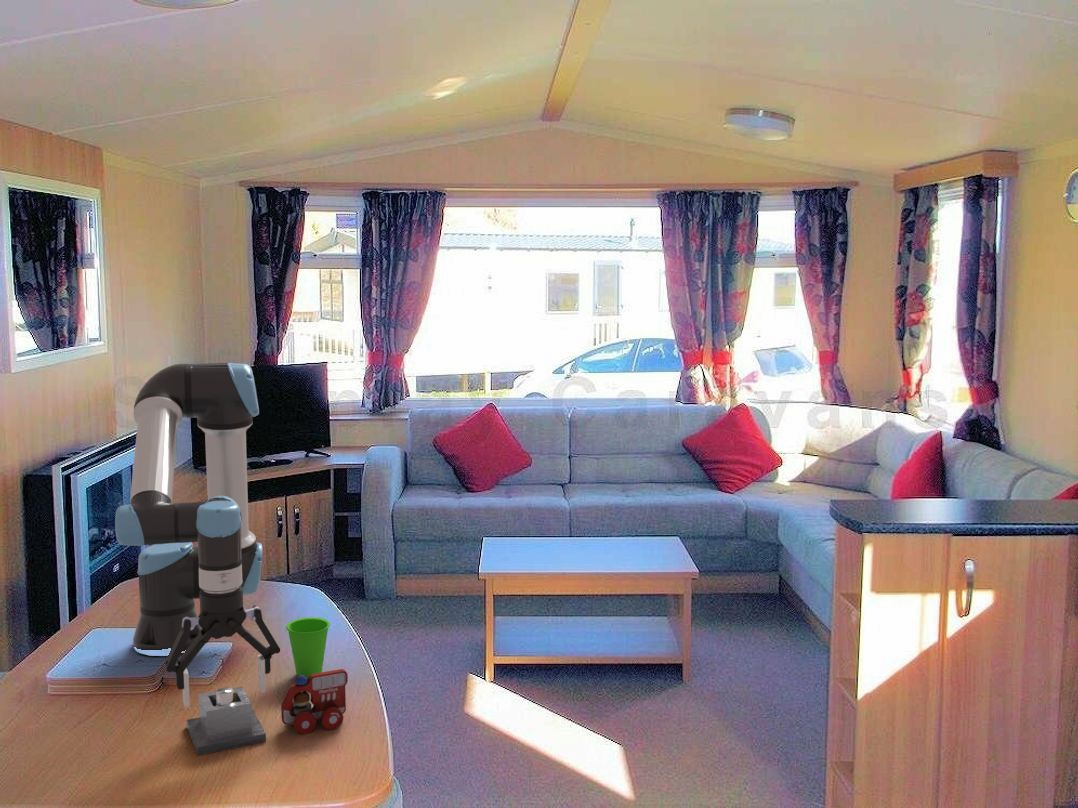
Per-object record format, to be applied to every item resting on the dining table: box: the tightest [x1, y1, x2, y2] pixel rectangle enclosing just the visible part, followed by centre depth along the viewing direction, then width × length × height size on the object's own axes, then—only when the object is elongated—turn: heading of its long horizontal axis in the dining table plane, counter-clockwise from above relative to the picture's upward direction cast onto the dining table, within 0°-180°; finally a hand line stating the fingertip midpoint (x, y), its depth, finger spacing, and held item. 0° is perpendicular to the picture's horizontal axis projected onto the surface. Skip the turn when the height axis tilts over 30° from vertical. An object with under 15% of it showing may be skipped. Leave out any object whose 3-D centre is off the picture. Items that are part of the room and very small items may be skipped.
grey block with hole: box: [198, 686, 253, 740], centre depth 188 cm, size 8×8×6 cm
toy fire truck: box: [280, 668, 349, 735], centre depth 193 cm, size 7×12×10 cm, turn 113°
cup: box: [285, 616, 331, 680], centre depth 215 cm, size 9×9×11 cm
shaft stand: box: [186, 686, 267, 756], centre depth 188 cm, size 12×12×8 cm
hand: (224, 697), depth 188 cm, fingers open, 13 cm apart
